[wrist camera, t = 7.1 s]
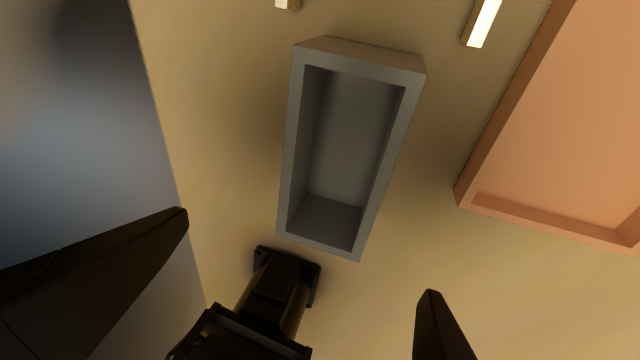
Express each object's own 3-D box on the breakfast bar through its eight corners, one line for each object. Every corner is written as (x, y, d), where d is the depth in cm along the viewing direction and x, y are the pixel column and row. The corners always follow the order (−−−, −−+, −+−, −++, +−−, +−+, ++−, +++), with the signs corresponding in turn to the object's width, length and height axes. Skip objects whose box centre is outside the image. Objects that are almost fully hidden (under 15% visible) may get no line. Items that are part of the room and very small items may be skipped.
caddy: (369, 211, 21) (358, 262, 16) (301, 191, 21) (275, 235, 17) (422, 55, 14) (427, 74, 10) (324, 34, 15) (292, 44, 11)
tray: (612, 232, 16) (634, 257, 15) (452, 189, 18) (457, 207, 16) (998, -128, 8) (1148, -163, 6) (641, -161, 9) (690, -196, 8)
